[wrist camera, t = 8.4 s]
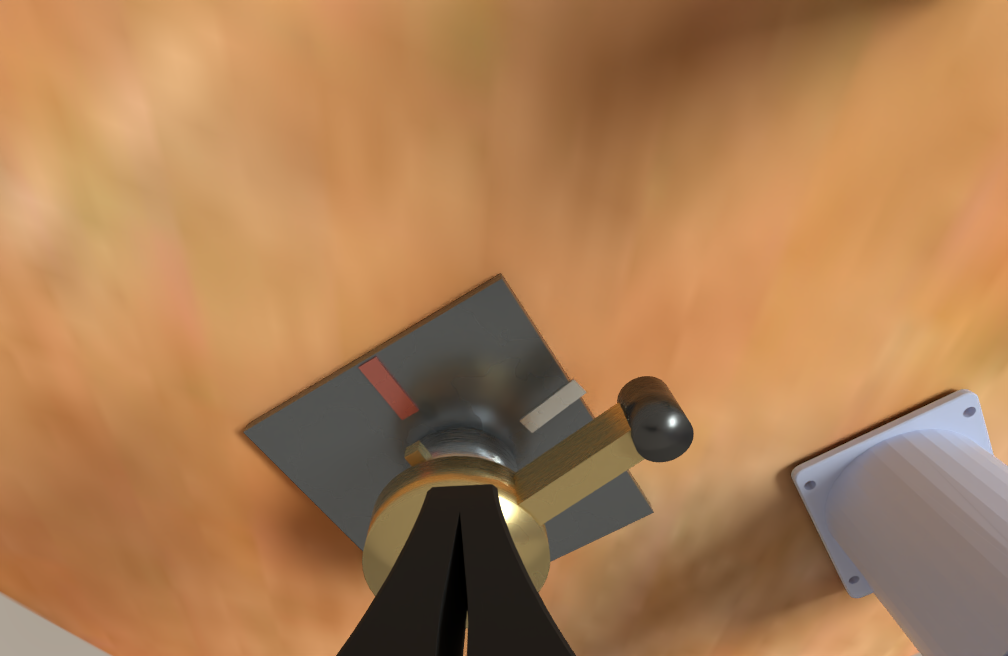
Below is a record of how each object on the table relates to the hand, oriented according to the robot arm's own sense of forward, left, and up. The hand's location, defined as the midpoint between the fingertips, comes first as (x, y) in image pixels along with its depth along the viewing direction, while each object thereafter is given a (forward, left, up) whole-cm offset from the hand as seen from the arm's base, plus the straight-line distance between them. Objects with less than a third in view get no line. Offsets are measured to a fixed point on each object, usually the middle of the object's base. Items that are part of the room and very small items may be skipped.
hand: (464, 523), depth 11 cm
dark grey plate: (-6, +4, -10) cm, 12 cm away
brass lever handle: (-5, +1, -7) cm, 9 cm away
